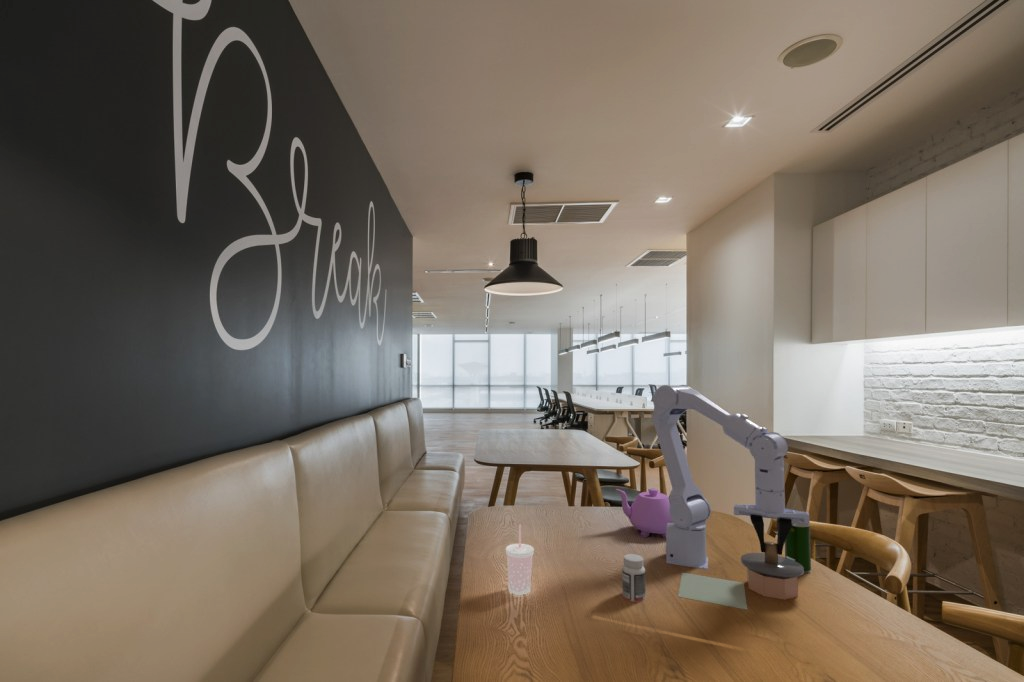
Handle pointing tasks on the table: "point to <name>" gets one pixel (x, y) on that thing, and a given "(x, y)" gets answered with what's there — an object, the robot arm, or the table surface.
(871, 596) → the table surface
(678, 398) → the robot arm
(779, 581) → the bowl
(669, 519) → the teapot
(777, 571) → the lid
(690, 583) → the mat
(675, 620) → the table surface
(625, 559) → the pill bottle
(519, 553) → the beverage cup
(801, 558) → the beer can
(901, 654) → the table surface
